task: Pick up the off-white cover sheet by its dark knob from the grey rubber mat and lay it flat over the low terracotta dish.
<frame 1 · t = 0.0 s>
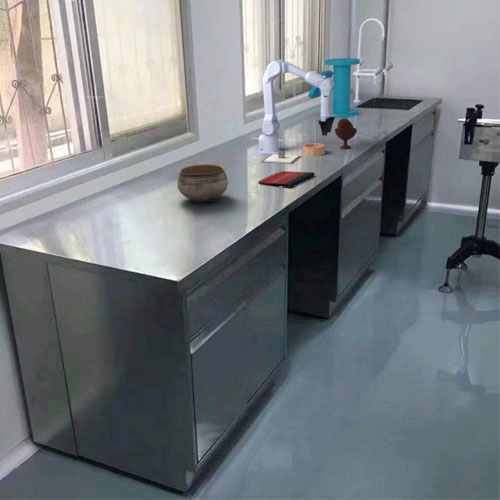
hand: (326, 133, 279), 10 cm above the countertop, tool pointing down, fingers open, 7 cm apart
binder: (285, 181, 243), on the countertop
pipe fitting: (334, 114, 390), on the countertop
mat: (281, 160, 276), on the countertop
cover sheet: (281, 159, 275), resting on mat
dish: (313, 154, 284), on the countertop
cooking pot: (204, 200, 221), on the countertop
ice cream bowl: (345, 148, 294), on the countertop
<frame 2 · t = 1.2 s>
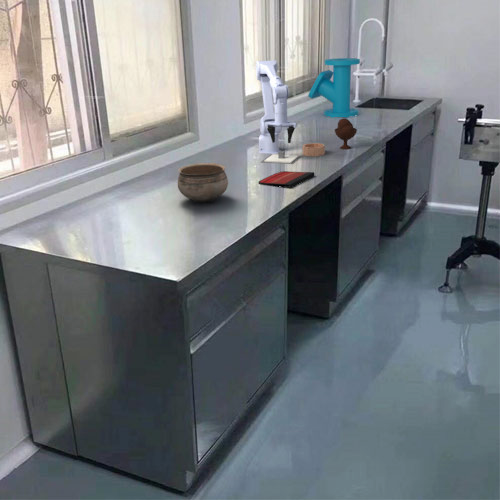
hand: (281, 142, 272), 8 cm above the countertop, tool pointing down, fingers open, 7 cm apart
nothing on the countertop moved.
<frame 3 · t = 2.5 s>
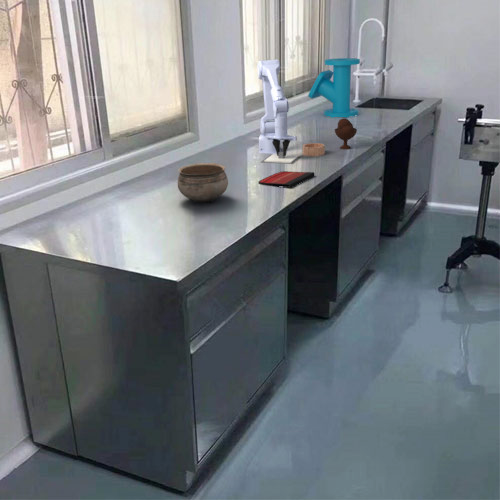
hand: (281, 155, 275), 2 cm above the countertop, tool pointing down, fingers closed on cover sheet, 2 cm apart
cover sheet: (281, 159, 275), resting on mat, touching gripper
everything else where it was.
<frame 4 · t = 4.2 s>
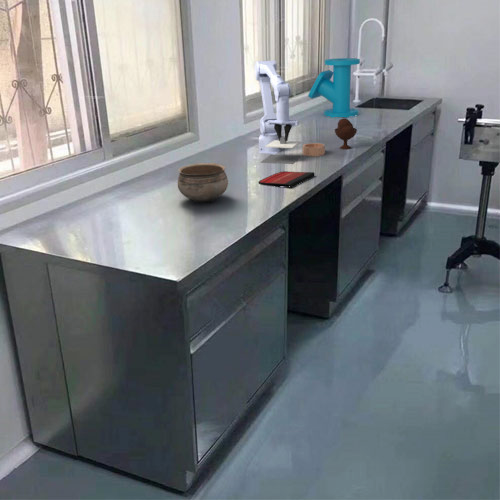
hand: (283, 140, 273), 9 cm above the countertop, tool pointing down, fingers closed on cover sheet, 2 cm apart
cover sheet: (283, 144, 273), point 7 cm above the countertop, touching gripper
everything else where it was.
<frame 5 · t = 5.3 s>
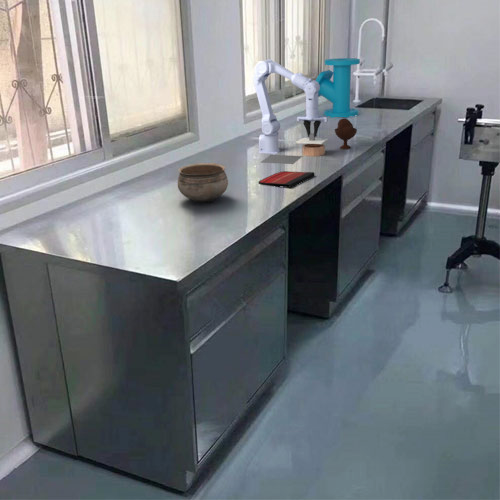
hand: (312, 136, 280), 9 cm above the countertop, tool pointing down, fingers closed on cover sheet, 2 cm apart
cover sheet: (312, 141, 281), point 7 cm above the countertop, touching gripper
everything else where it was.
when the fingers open (7 cm above the countertop, at t = 6.1 s): cover sheet stays where it is, resting on dish.
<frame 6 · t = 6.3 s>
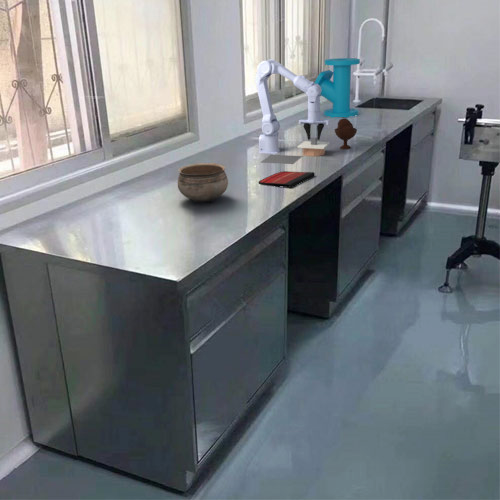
hand: (313, 139, 281), 7 cm above the countertop, tool pointing down, fingers open, 4 cm apart
cover sheet: (313, 145, 282), point 4 cm above the countertop, touching dish
everything else where it was.
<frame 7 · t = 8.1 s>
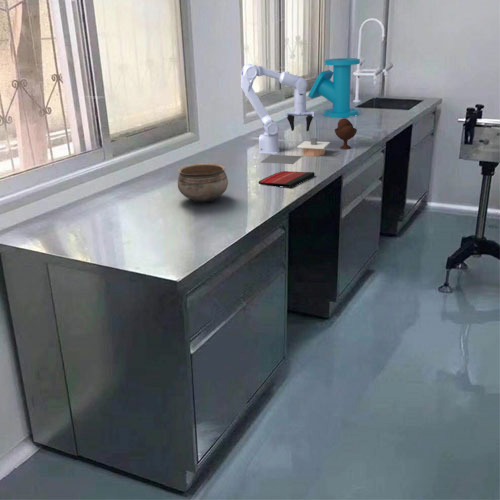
hand: (300, 130, 290), 10 cm above the countertop, tool pointing down, fingers open, 7 cm apart
nothing on the countertop moved.
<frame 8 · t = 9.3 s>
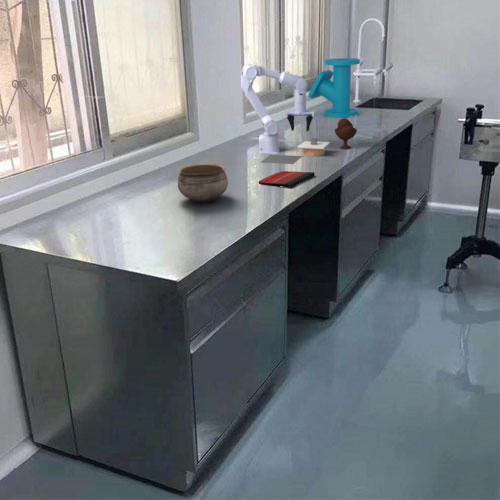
hand: (300, 130, 290), 10 cm above the countertop, tool pointing down, fingers open, 7 cm apart
nothing on the countertop moved.
at the end: cover sheet 0.1 cm off-centre on the dish, point 4.5 cm above the dish's base; cover sheet tilted 0°; cover sheet touching dish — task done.
